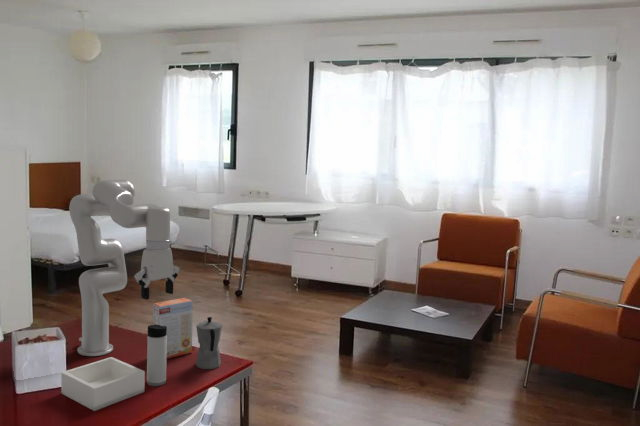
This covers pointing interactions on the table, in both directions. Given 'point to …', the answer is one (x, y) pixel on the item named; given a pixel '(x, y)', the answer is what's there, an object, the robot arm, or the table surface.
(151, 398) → the table surface
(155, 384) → the travel mug
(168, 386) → the table surface
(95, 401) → the bin
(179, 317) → the cracker box
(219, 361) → the coffeepot
